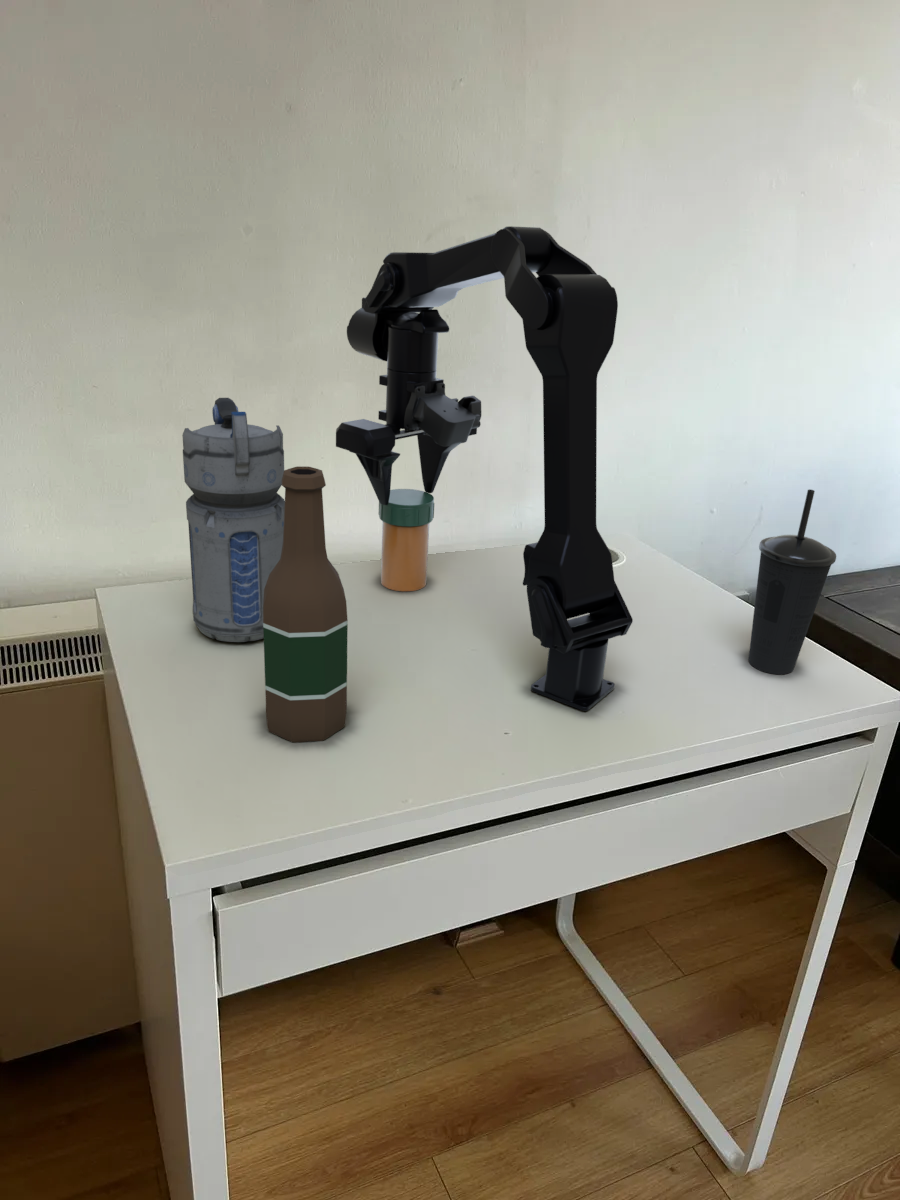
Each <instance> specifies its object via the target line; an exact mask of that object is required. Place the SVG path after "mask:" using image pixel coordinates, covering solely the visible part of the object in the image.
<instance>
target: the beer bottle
mask: <svg viewBox="0 0 900 1200" xmlns="http://www.w3.org/2000/svg"><path fill="white" fill-rule="evenodd" d="M326 486H327V484H326V480H325V476H324V472H323V470H322V469H319V468H316V467H312V466H293V467H290V468H287V469H284V473H283V477H282V485H281V487H283V488H284V501H285V508H284V531H283V546H282V552H281V558H280V560H279V562H278V563H277V564H276V566H275V567H274V569H273V570H272V571H271V573H270V574H269V577H268V580H267V583H266V586H265V588H264V600H263V631H264V638H263V653H264V654H263V657H264V658H263V659H264V660H263V662H264V690H265V691H264V692H265V693H264V695H265V715H266V717H265V718H266V727H267V730H268V732H270V733H271V734H273V735H276V736H278V737H280V738H282V739H284V740H286V741H289V742H290V743H305V742H306V743H308V742H324V741H325V740H327V739H328V738H330V737H332V736H333V735H335V734H336V733H337V732H339V731H341V730H342V729H344V727H345V726H346V721H347V710H348V709H347V707H348V705H347V704H348V703H347V702H348V620H349V619H348V610H347V609H348V605H347V599H346V593H345V589H344V585H343V583H342V580H341V577H340V574H339V572H338V570H337V569H336V568H335V566H334V565H333V563H332V562H331V561H330V560H329V558H328V553H327V548H326V547H327V546H326V545H327V544H326V531H325V515H324V499H323V488H325V487H326Z"/></svg>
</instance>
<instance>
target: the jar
mask: <svg viewBox="0 0 900 1200" xmlns="http://www.w3.org/2000/svg"><path fill="white" fill-rule="evenodd" d="M381 521H382V520H381ZM381 525H382V526H381V527H382V528H381V561H380V584H381V586H383V587H384V588H386V589H389V590H392V591H396V592H415V591H418V590H421V589H423V588H425V587H426V585H427V581H428V580H427V578H428V577H427V576H428V560H429V559H428V558H429V539H430V538H429V537H430V523H428V524H426V525H422V526H414V527H404V526H396V525H391V524H388V523H385V522H383V521H382V523H381Z"/></svg>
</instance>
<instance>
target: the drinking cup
mask: <svg viewBox="0 0 900 1200" xmlns="http://www.w3.org/2000/svg"><path fill="white" fill-rule="evenodd" d="M814 496H815V489H807V491H806V495H805V501H804V505H803V508H802V513H801V518H800V522H799V527H798V530H797V534H780V535H777V536H769V537H766V538H763V539H761V541H760V542H759V544H758V548H759V551H760V556H759V565H758V572H757V573H758V574H757V583H756V591H755V600H754V608H753V617H752V626H751V634H750V644H749V651H748V663H749V664H750V665H751V667H753V668H755V669H757V670H758V671H761V672H763V673H767V674H771V675H788V674H791V673H792V672H794V669H795V666H796V664H797V661H798V659H799V655H800V653H801V651H802V646H803V644H804V642H805V639H806V637H807V633H808V630H809V629H810V625H811V621H812V620H813V616H814V614H815V611H816V609H817V605H818V603H819V601H820V598H821V595H822V594H821V593H822V591H823V589H824V586H825V583H826V581H827V578H828V575H829V572H830V569H831V566H832V565H833V564H834V563H836V560H837V553H836V552H835V551H834V550H833V549H832V548H830V547H828V546H827V545H825V544H823V543H822V542H820V541H818V540H816V539H814V538H811V537H808V536H805V535H806V530H807V526H808V521H809V517H810V514H811V513H810V512H811V510H812V509H811V508H812V503H813V500H814Z"/></svg>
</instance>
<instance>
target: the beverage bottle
mask: <svg viewBox="0 0 900 1200" xmlns="http://www.w3.org/2000/svg"><path fill="white" fill-rule="evenodd" d="M211 410H212V411H211V412H212V421H213V423H214V424H209V425H206V426H202V427H200V428H198V429H195V430H191V429H190V428H189V427H185V428H184V430H183V432H182V435H181V436H182V448H183V449H182V463H183V479H184V483H185V484H186V486H187V487H188V488H189V490H190V491H191V492H192V493H193V494H191V495H190V496H189V497H188V498H187V499H186V501H185V510H186V513H185V514H186V520H187V523H188V540H189V555H190V569H191V570H190V571H191V585H192V619H193V620H192V621H193V622H194V624H195V626H196V627H197V629H198V630H199V632H200V633H201V634H203V635H204V636H206V637H208V638H210V639H212V640H214V639H216V640H217V641H221V642H228V643H245V642H254V641H259V640H262V639H263V640H264V631H263V600H264V588H265V586H266V583H267V580H268V577H269V574H270V573H271V571H272V570H273V569H274V567H275V566H276V564H277V563H278V562H279V560H280V558H281V552H282V546H283V531H284V508H285V498H284V497H282V496H281V494H279V493H278V492H279V490H280V489H281V487H282V477H283V473H284V470H285V450H284V434H283V431H282V429H281V427H280V425H275V426H276V429H275V430H270V429H267V428H266V427H262V426H259V425H255V424H248V417H247V412H246V411H239V407H238V406H237V405H236V403H235V402H234V400H233V399H231V398H229V397H219V398H217V399H216V400H215V401H214V405H213V406H212V409H211Z"/></svg>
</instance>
